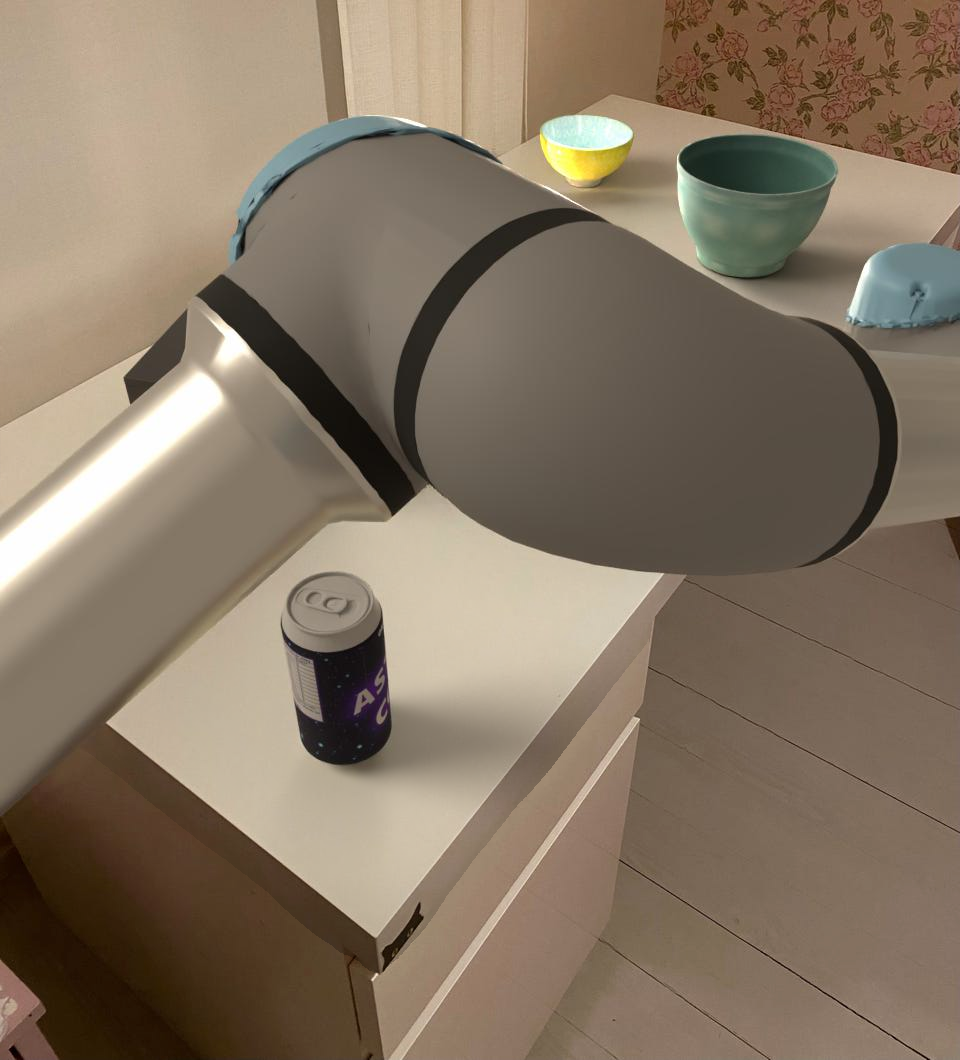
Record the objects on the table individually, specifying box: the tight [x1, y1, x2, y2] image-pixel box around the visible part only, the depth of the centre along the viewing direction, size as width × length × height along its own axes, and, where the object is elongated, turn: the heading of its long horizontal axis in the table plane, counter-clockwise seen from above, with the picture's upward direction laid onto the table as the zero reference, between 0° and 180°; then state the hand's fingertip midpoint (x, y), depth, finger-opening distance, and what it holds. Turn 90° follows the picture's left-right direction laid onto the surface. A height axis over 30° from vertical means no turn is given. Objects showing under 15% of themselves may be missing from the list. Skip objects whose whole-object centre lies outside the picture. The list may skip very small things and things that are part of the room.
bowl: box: [539, 114, 635, 189], centre depth 128 cm, size 11×12×6 cm
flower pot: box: [676, 133, 839, 278], centre depth 111 cm, size 16×16×11 cm
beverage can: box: [280, 570, 393, 766], centre depth 61 cm, size 6×6×12 cm
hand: (420, 397), depth 81 cm, fingers closed
